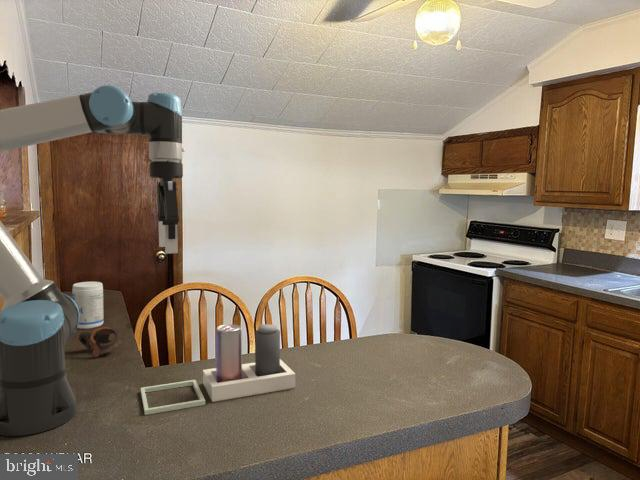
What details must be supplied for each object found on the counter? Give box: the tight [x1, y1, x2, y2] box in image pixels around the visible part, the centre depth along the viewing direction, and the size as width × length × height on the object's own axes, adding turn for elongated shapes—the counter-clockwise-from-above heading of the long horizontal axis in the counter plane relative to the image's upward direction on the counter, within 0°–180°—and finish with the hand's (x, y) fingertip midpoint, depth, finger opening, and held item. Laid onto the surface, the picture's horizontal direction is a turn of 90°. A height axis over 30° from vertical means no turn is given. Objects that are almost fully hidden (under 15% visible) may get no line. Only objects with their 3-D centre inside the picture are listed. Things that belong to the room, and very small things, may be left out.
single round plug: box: [254, 323, 281, 377], centre depth 116 cm, size 6×6×14 cm
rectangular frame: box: [140, 379, 206, 416], centre depth 108 cm, size 13×13×1 cm
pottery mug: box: [78, 326, 122, 359], centre depth 137 cm, size 12×10×8 cm
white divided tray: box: [202, 358, 296, 403], centre depth 115 cm, size 20×11×4 cm, turn 114°
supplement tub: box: [71, 281, 105, 330], centre depth 163 cm, size 10×10×15 cm
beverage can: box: [215, 324, 243, 383], centre depth 112 cm, size 6×6×15 cm
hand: (168, 249), depth 115 cm, fingers open, 13 cm apart
